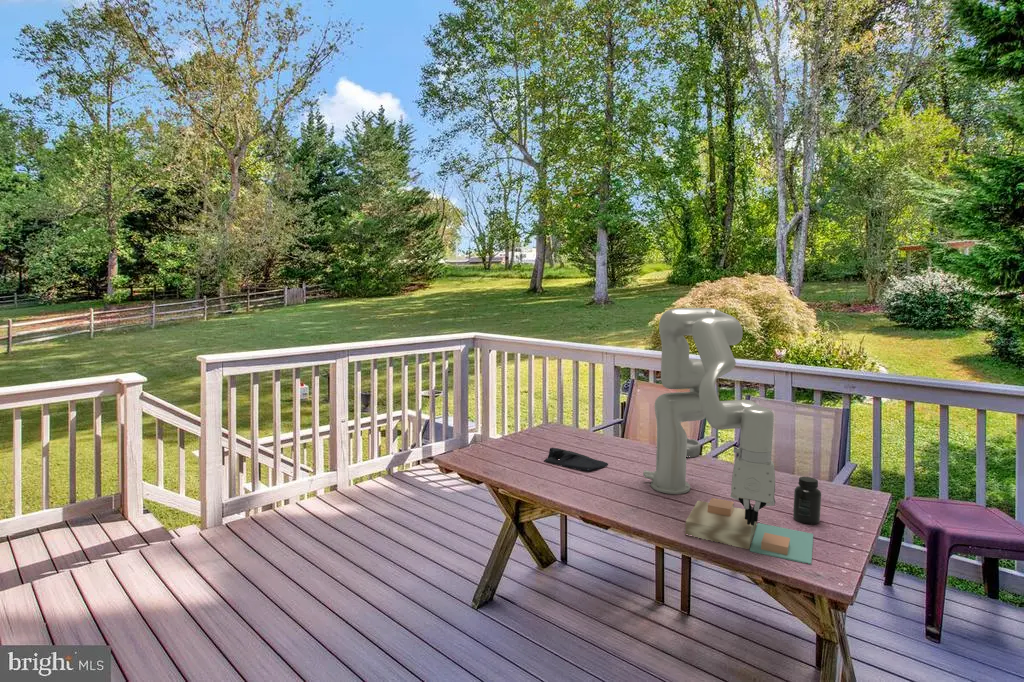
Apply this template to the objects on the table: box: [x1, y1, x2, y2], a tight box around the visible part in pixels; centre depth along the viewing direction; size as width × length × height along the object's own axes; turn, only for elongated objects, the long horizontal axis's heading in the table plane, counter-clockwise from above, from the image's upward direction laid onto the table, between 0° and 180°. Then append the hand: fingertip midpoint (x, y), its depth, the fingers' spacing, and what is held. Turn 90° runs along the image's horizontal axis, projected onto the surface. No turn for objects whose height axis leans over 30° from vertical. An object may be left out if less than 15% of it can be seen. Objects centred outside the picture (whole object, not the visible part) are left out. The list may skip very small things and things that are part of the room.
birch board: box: [684, 500, 758, 550], centre depth 154 cm, size 16×16×4 cm
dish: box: [687, 437, 701, 458], centre depth 222 cm, size 14×14×5 cm
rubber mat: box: [749, 522, 814, 565], centre depth 147 cm, size 14×18×1 cm
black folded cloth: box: [543, 447, 609, 472], centre depth 210 cm, size 15×22×5 cm
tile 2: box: [761, 533, 790, 555], centre depth 143 cm, size 6×6×2 cm
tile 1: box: [708, 497, 735, 516], centre depth 157 cm, size 6×6×2 cm
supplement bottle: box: [792, 476, 822, 525], centre depth 160 cm, size 7×7×12 cm
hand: (751, 522), depth 146 cm, fingers closed
